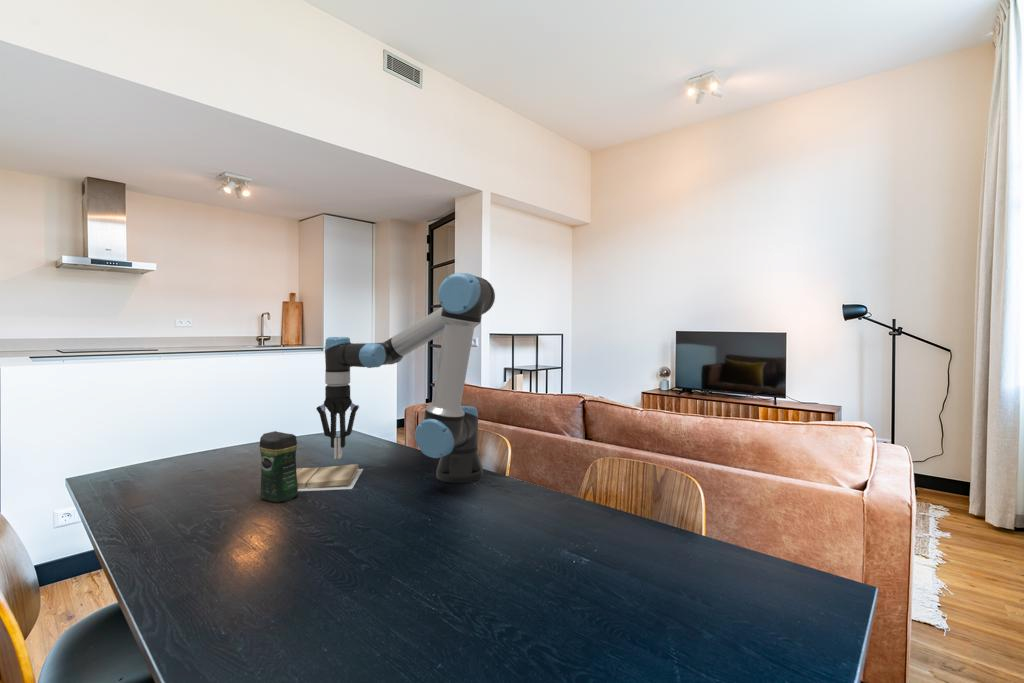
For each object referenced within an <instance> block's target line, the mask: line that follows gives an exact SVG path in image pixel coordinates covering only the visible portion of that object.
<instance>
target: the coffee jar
mask: <svg viewBox="0 0 1024 683" xmlns="http://www.w3.org/2000/svg"><path fill="white" fill-rule="evenodd" d="M297 449H298V441H297V436H296V435H295V434H293V433H285V432H281V431H276V430H275V431H270V432H266V433H263V434H262V436H260V439H259V452H260V459H261V461H260V462H261V469H260V470H261V471H260V472H261V473H260V475H261V476H260V498H261V499H262V500H264V501H266V502H271V503H282V502H288V501H291V500H292V499H294V498H296V497H297V496H298V494H299V491H298V483H297V472H296V468H297V460H296V459H297V457H296V456H297V455H296V454H297Z"/></svg>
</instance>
